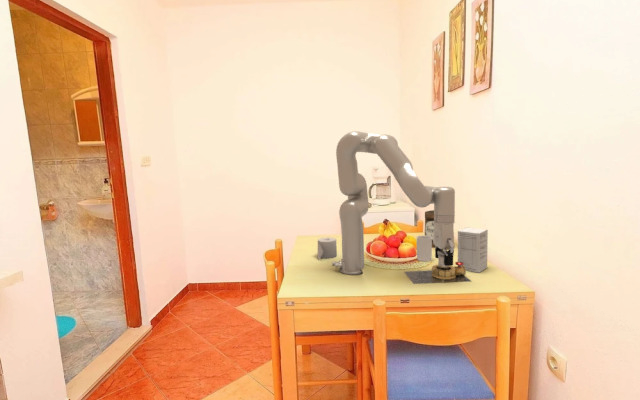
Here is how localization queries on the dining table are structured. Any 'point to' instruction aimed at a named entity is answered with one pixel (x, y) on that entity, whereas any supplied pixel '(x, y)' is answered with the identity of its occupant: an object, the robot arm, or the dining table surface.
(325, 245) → the toilet tissue
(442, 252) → the pipe stub
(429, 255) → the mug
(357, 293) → the dining table surface
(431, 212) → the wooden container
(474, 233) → the supplement box
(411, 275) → the fitting board
